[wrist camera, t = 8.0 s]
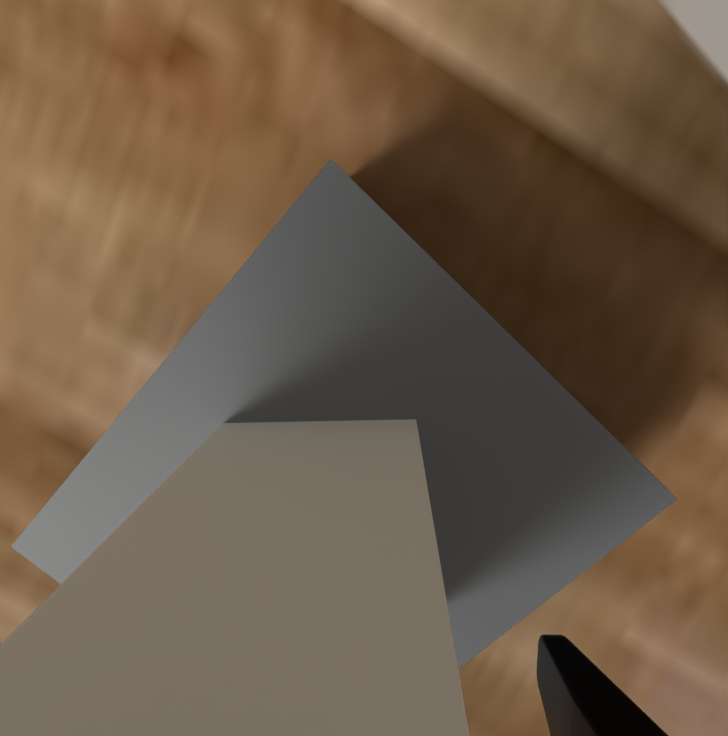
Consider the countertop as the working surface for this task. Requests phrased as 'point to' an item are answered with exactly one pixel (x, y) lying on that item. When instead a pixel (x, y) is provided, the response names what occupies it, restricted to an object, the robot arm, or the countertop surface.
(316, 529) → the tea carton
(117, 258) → the countertop surface
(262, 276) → the podium
